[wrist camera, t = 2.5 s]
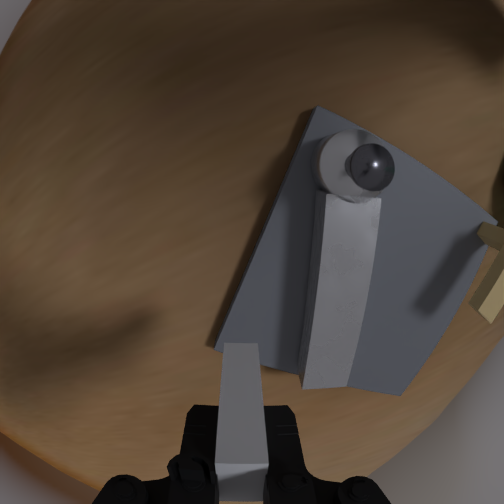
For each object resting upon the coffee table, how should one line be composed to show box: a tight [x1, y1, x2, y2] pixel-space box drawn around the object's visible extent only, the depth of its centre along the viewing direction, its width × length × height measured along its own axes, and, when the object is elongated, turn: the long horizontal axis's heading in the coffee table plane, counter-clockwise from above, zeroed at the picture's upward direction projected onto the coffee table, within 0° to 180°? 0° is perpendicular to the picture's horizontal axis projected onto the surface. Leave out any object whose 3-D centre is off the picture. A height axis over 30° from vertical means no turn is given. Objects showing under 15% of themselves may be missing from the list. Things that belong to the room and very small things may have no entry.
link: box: [297, 129, 395, 389], centre depth 21 cm, size 20×5×6 cm, turn 178°
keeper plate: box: [214, 105, 504, 396], centre depth 22 cm, size 22×22×8 cm
